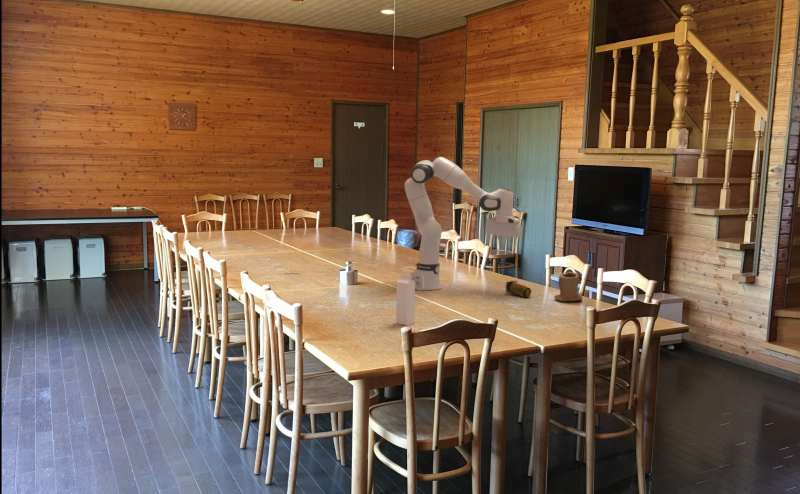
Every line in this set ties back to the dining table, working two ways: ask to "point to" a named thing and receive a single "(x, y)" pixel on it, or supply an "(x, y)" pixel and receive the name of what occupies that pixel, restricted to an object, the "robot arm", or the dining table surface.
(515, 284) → the condiment
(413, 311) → the milk
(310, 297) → the dining table surface
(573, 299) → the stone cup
